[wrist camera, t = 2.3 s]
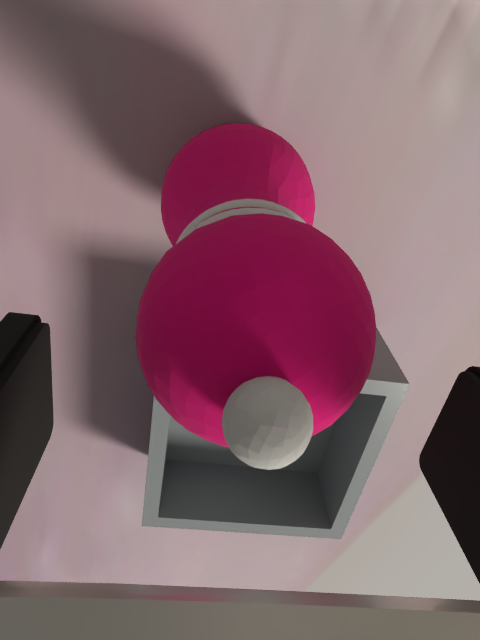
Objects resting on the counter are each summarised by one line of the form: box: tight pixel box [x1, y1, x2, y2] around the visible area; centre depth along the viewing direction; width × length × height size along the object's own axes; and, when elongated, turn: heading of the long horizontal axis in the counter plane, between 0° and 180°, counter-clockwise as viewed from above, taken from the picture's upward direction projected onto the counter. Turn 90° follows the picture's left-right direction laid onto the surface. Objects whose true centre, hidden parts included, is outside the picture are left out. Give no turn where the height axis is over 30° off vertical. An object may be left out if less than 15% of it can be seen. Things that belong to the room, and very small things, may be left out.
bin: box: [142, 328, 409, 539], centre depth 31 cm, size 14×14×6 cm
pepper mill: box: [136, 123, 376, 470], centre depth 17 cm, size 7×7×20 cm
